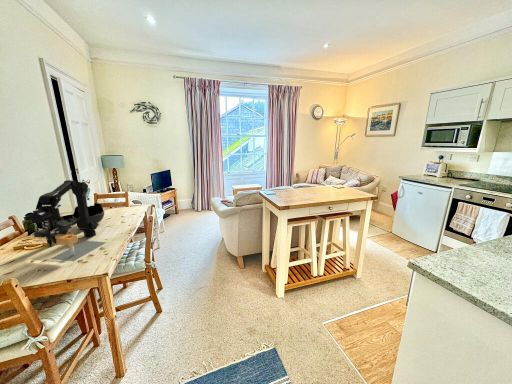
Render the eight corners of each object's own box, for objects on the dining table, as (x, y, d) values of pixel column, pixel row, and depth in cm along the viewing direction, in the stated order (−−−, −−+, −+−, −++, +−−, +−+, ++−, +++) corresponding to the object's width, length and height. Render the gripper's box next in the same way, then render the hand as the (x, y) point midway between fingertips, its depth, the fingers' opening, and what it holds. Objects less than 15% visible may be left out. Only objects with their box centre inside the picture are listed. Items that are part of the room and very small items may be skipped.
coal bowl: (69, 227, 164) (63, 205, 159) (96, 218, 182) (92, 198, 177) (85, 232, 157) (80, 208, 152) (111, 222, 175) (107, 200, 170)
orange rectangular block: (52, 243, 120) (50, 237, 119) (61, 239, 125) (59, 233, 124) (70, 245, 118) (68, 239, 117) (78, 241, 123) (76, 235, 122)
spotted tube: (68, 242, 141) (61, 214, 136) (53, 248, 134) (45, 219, 129) (60, 240, 144) (53, 213, 139) (45, 246, 136) (37, 217, 131)
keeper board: (50, 261, 120) (46, 246, 118) (86, 242, 141) (83, 230, 139) (74, 263, 118) (71, 249, 115) (107, 244, 139) (104, 231, 136)
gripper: (47, 223, 108) (54, 250, 112) (81, 211, 126) (86, 235, 130) (29, 222, 109) (37, 249, 113) (65, 210, 127) (71, 234, 131)
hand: (60, 241), depth 122 cm, fingers closed on orange rectangular block, 5 cm apart
